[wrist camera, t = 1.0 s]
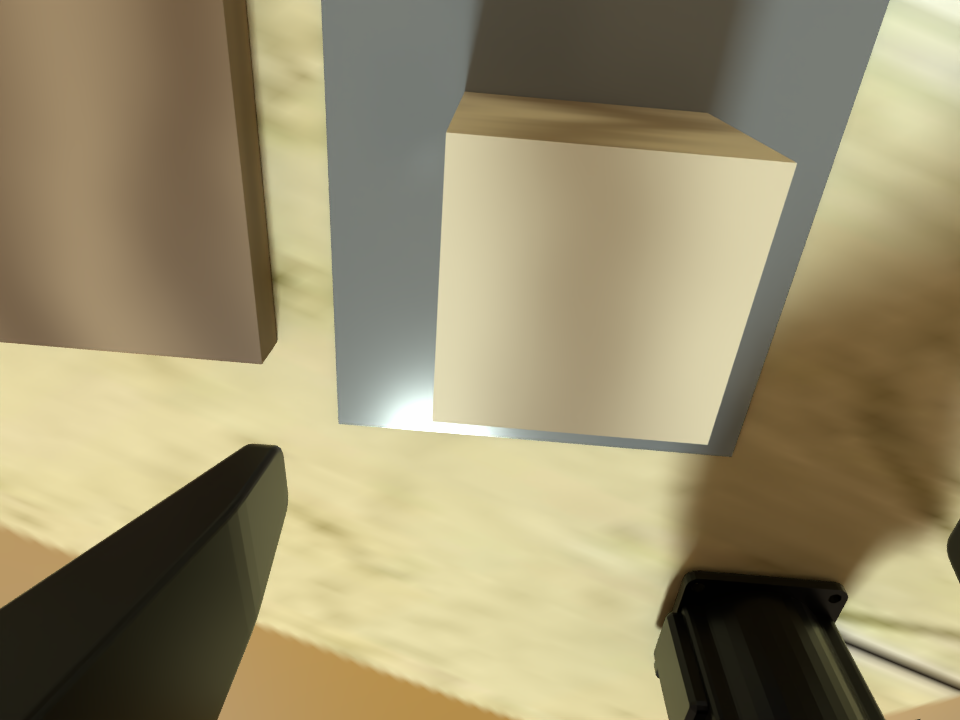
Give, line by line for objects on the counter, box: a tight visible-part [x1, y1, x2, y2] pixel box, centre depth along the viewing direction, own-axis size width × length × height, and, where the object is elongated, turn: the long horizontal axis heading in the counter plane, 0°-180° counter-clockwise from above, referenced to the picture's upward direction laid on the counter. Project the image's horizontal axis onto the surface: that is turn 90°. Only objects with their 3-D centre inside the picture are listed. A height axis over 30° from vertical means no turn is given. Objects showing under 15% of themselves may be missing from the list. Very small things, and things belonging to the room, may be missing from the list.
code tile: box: [321, 0, 889, 457], centre depth 19 cm, size 14×16×1 cm
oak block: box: [432, 92, 797, 445], centre depth 16 cm, size 6×6×6 cm
